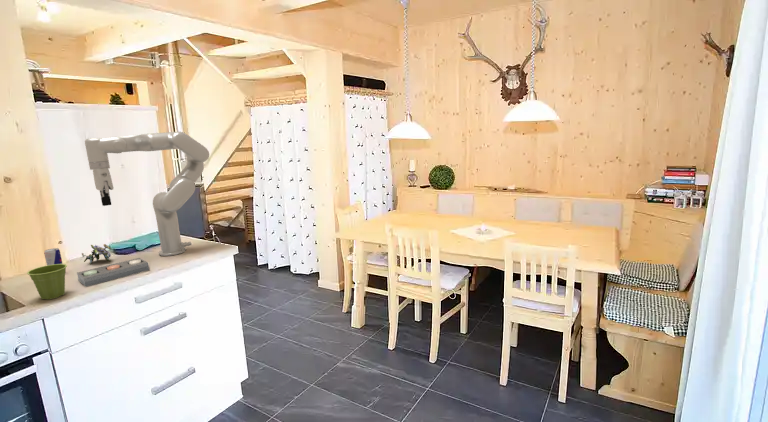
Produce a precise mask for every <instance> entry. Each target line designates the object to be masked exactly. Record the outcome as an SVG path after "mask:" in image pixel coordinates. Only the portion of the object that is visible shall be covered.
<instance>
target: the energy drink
mask: <svg viewBox="0 0 768 422" xmlns="http://www.w3.org/2000/svg"><path fill="white" fill-rule="evenodd" d="M44 258H45V261H46V262H45V263H46V266H47V265H53V264H64V263H63V260H62V255H61V250H60V249H59V248H58V247H57V248H56V247H54V248H49V249H45V250H44Z"/></svg>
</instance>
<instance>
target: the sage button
mask: <svg viewBox="0 0 768 422" xmlns="http://www.w3.org/2000/svg"><path fill="white" fill-rule="evenodd" d="M96 273H97V270H91V271H87V272H84V276H88V275H92V274H96Z"/></svg>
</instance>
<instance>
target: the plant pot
mask: <svg viewBox="0 0 768 422" xmlns="http://www.w3.org/2000/svg"><path fill="white" fill-rule="evenodd" d="M67 266H68V264H65V263H63V264H53V265H47V264H46V265H44V266H39V267H35V268H33V269H30V270H28V271H27V272H26V274H27V275H29V277H30V278H31V281H32V282H33V283H34V286H35V288H36V290H37V292H38V294H39V297H40V299H41V300H52V299H56V298H59V297H60V296H64V295H65V294H66V288H65V287H66V268H67Z"/></svg>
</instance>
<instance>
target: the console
mask: <svg viewBox="0 0 768 422" xmlns="http://www.w3.org/2000/svg"><path fill="white" fill-rule="evenodd" d="M133 260H141V262H140V263H136V264H132V265H130V264H129V262H130V261H133ZM112 265H120V268H116V269H112V270H107V267H109V266H112ZM91 270H97V273H96V274H92V275H88V276H84V272H87V271H91ZM147 271H150V266H149V262H148V261H146V260H144V259H143V258H141V257H137V258H133V259H128V260H125V261H121V262H115V263H111V264H107V265H104V266H98V267H95V268H91V269H87V270H82V271H79V272H76V275H77V280H78V282H80V283H81V284H82V285H83V286H84V287H85V288H87V287H90V286H94V285H98V284H101V283H105V282H106V283H107V282H109V281H113V280H114V281H115V280H116V279H121V278H125V277H129V276H132V275H136V274H139V273H143V272H147Z"/></svg>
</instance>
